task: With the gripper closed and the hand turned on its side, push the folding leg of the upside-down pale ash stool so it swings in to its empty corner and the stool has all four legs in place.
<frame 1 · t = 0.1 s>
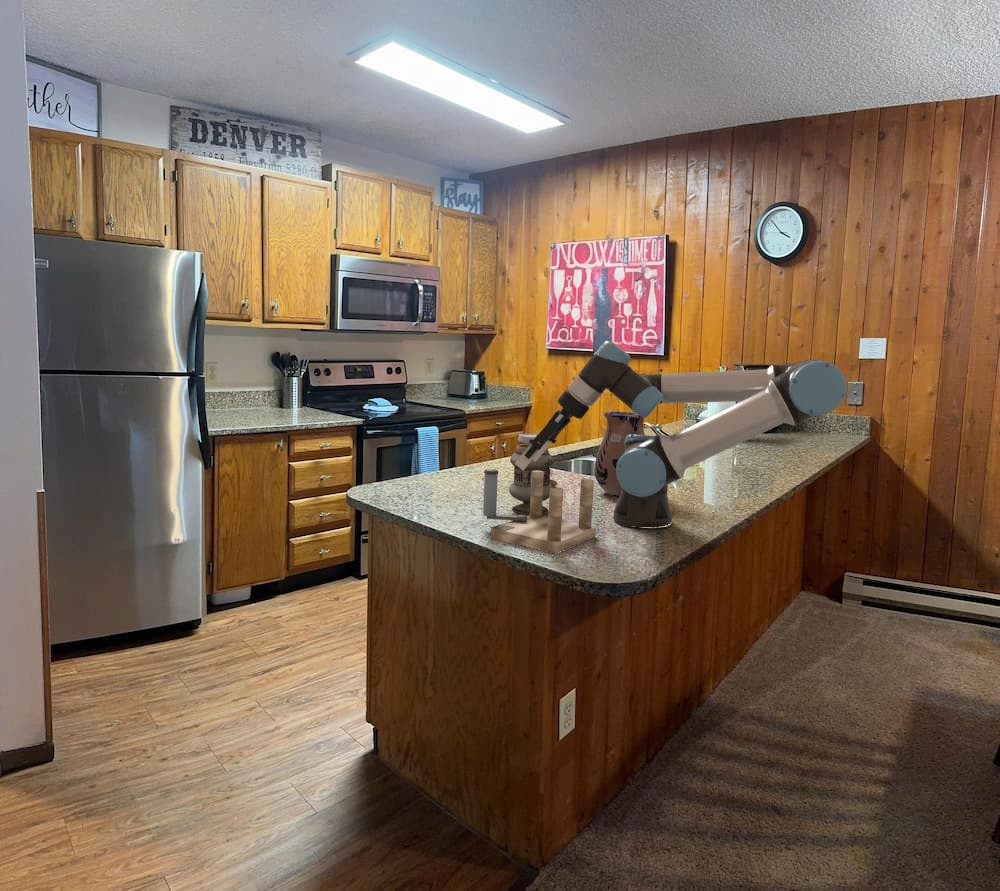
hand: (525, 462, 179), 16 cm above the countertop, tool tilted 35°, fingers open, 13 cm apart
folding leg: (505, 495, 172), point 9 cm above the countertop, hinge at -60.0°
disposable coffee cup: (529, 468, 255), on the countertop
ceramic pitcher: (618, 493, 220), on the countertop
apothecary jar: (530, 511, 193), on the countertop, touching gripper
ash stool: (543, 537, 168), on the countertop
cup and saucer: (537, 488, 224), on the countertop
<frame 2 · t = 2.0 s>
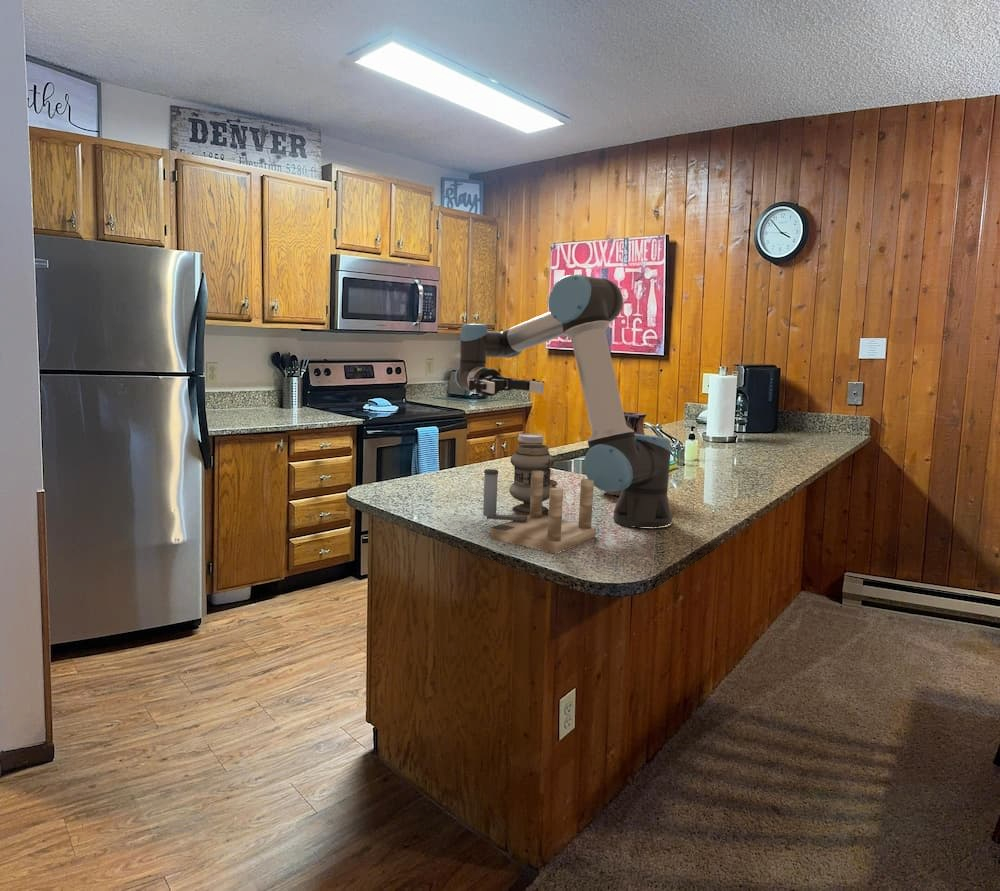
hand: (518, 388, 177), 34 cm above the countertop, tool horizontal, fingers open, 13 cm apart
apothecary jar: (530, 511, 193), on the countertop
everything else where it was.
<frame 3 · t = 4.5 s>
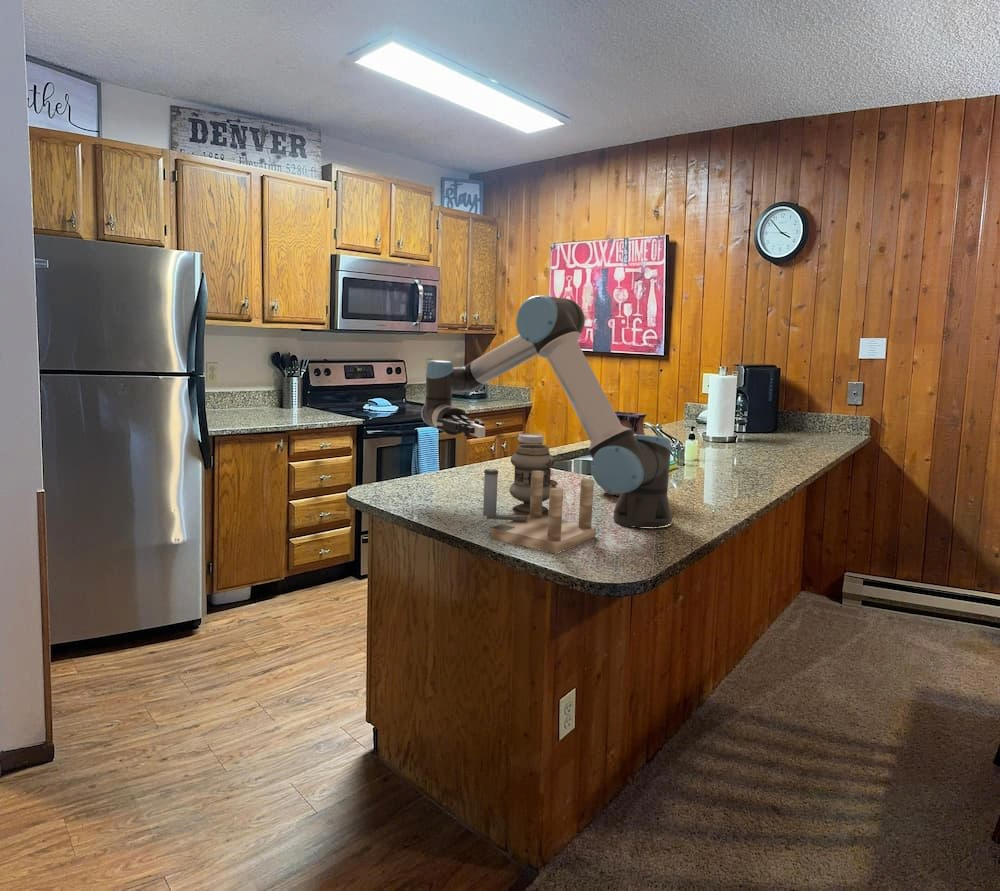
hand: (482, 432, 175), 23 cm above the countertop, tool horizontal, fingers closed
nothing on the countertop moved.
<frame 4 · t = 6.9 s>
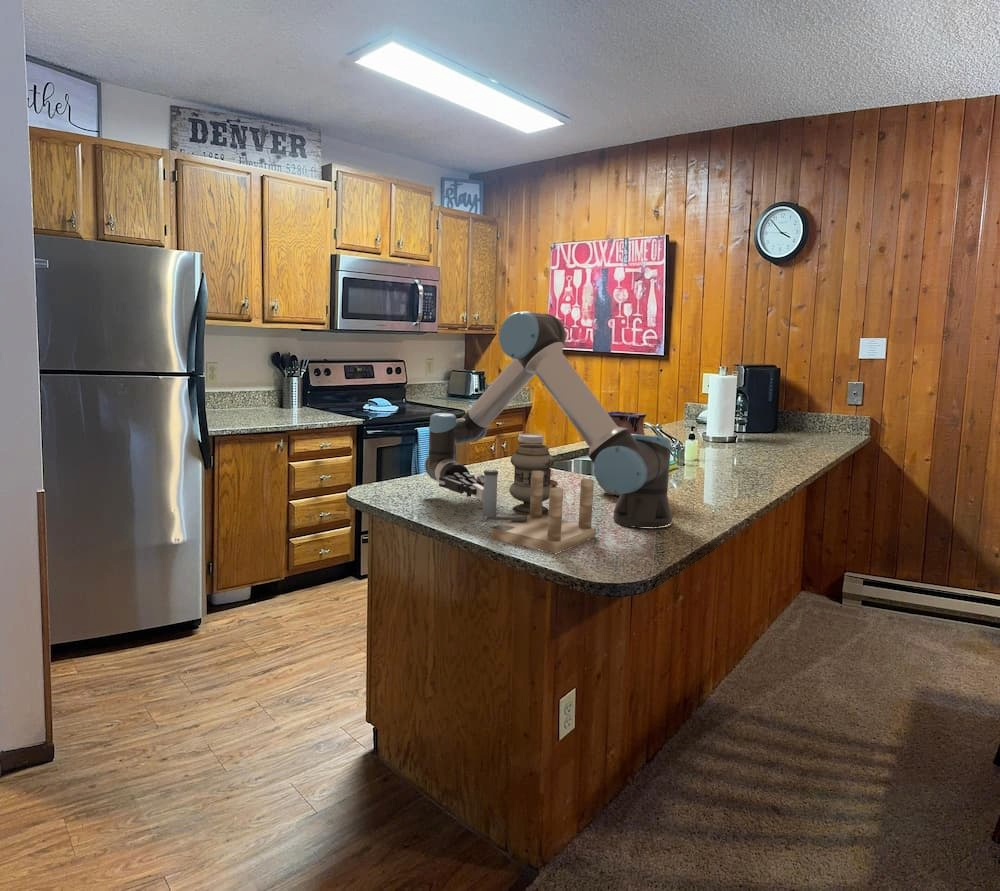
hand: (484, 494, 173), 8 cm above the countertop, tool horizontal, fingers closed
folding leg: (505, 495, 172), point 9 cm above the countertop, hinge at -54.6°, touching gripper
everything else where it was.
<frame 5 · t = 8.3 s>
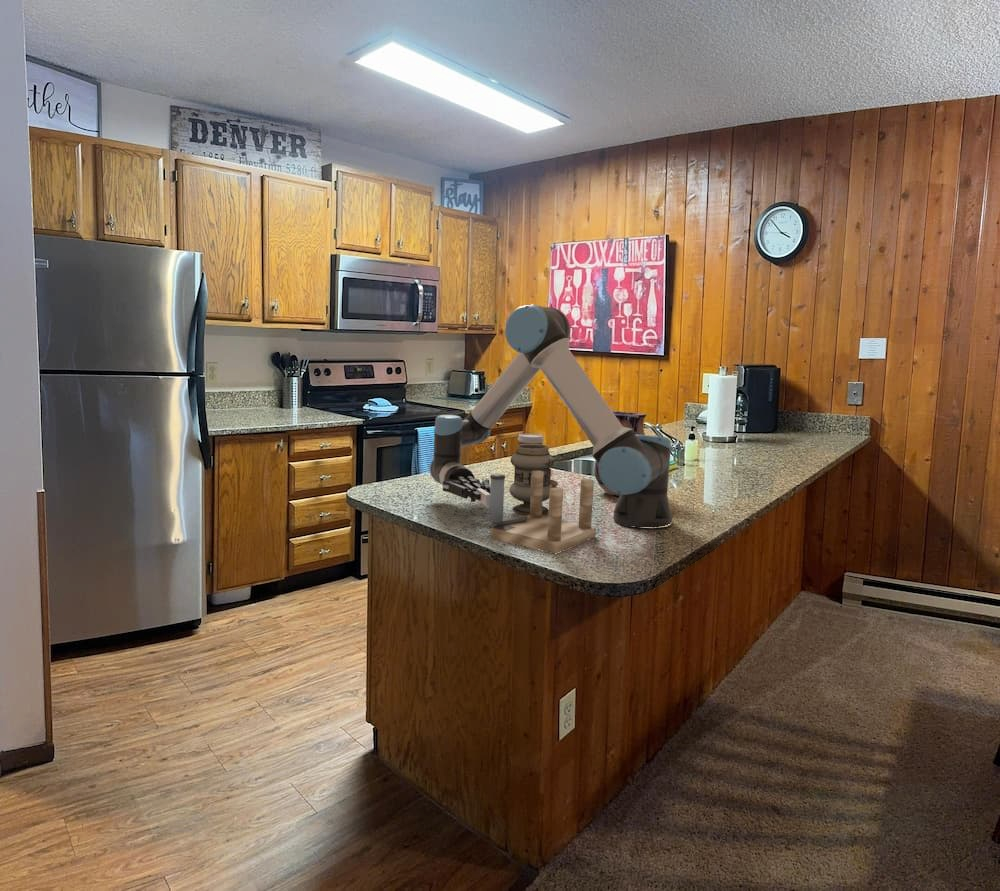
hand: (488, 500, 167), 8 cm above the countertop, tool horizontal, fingers closed
folding leg: (509, 498, 169), point 9 cm above the countertop, hinge at -16.8°, touching gripper
everything else where it was.
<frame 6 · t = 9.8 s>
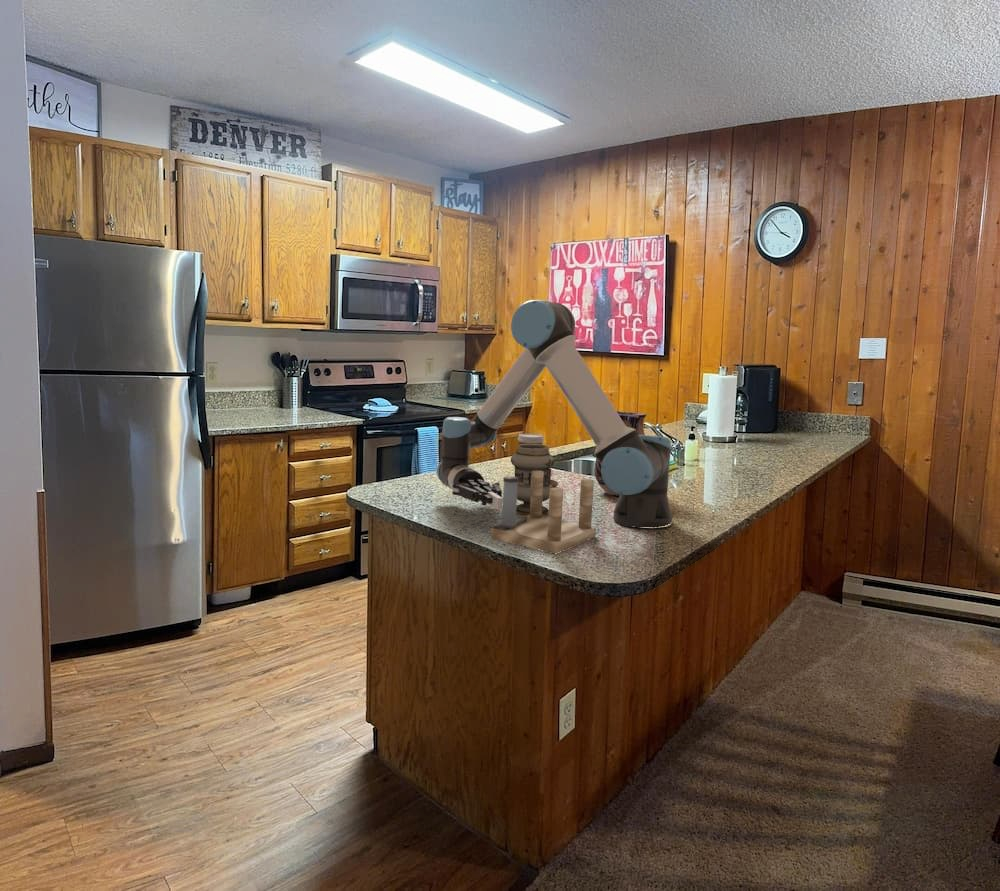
hand: (500, 503, 164), 8 cm above the countertop, tool horizontal, fingers closed
folding leg: (516, 499, 168), point 9 cm above the countertop, hinge at 11.1°, touching gripper
everything else where it was.
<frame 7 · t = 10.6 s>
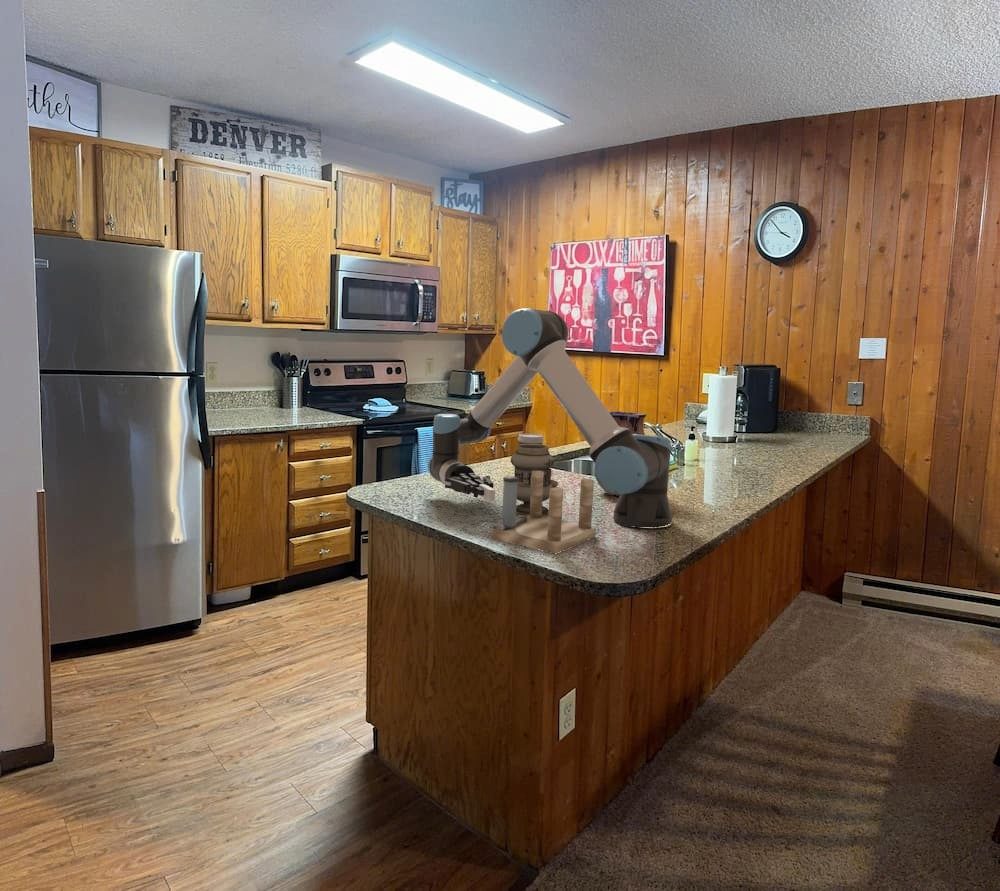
hand: (492, 495, 172), 9 cm above the countertop, tool horizontal, fingers closed
folding leg: (516, 499, 168), point 9 cm above the countertop, hinge at 11.0°
everything else where it was.
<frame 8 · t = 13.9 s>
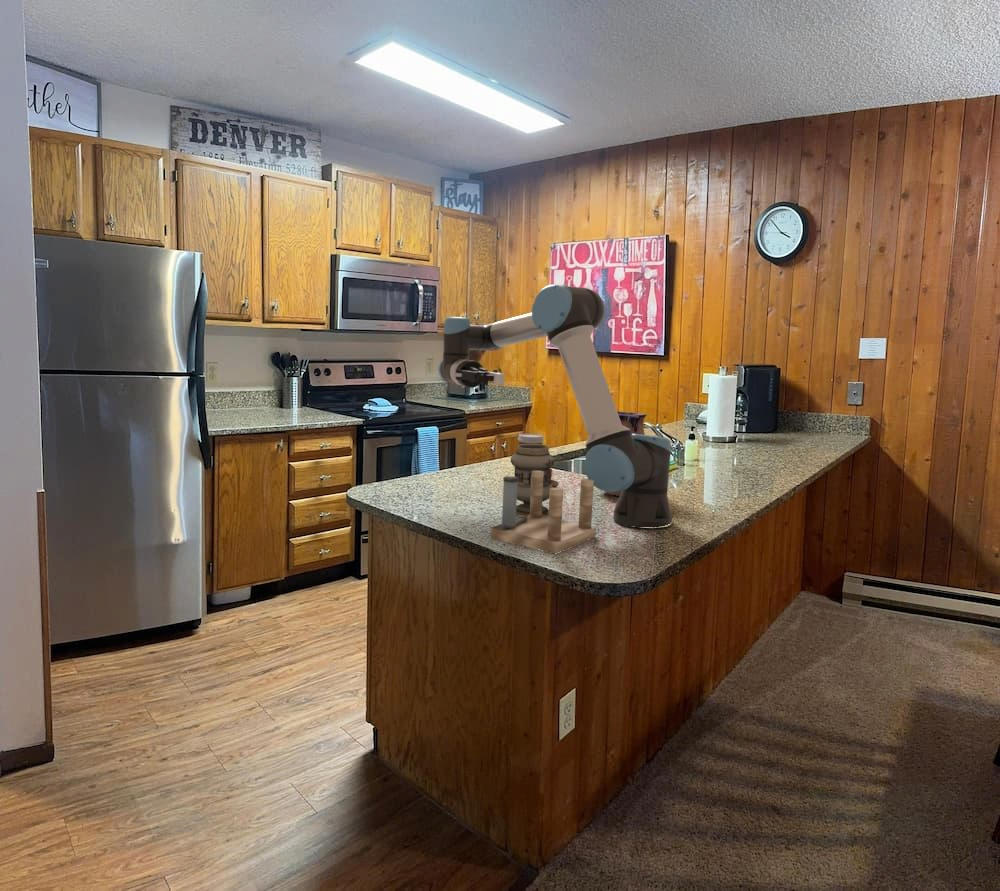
hand: (501, 379, 179), 36 cm above the countertop, tool horizontal, fingers closed
nothing on the countertop moved.
at the end: folding leg at +11° (first picture: -60°) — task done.
